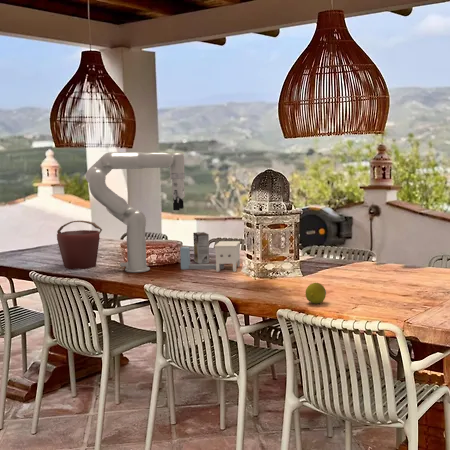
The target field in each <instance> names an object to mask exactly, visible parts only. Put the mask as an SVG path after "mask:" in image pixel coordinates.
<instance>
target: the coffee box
mask: <svg viewBox="0 0 450 450" xmlns="http://www.w3.org/2000/svg"><path fill="white" fill-rule="evenodd" d="M192 236H193V257H194V260H193V261H194V262H195V264H210V245H209V244H210V241H209V240H210V238H209V234H208V233H206V232H205V231H203V232H199V231H198V232H193V235H192Z"/></svg>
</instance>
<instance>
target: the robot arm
mask: <svg viewBox="0 0 450 450" xmlns="http://www.w3.org/2000/svg"><path fill="white" fill-rule="evenodd" d="M152 168H153V169H155V168H157V169H158V168H159V169H162V168H163V169H164V168H165V169H167V168H169V177H170V181H171V195H172V196H171V197H172V210H173V211H180V210H181V209H183V210H184V207H185V206H184V198H185V196H186V190H185V182H184V180H185V155H184V153H182V152H172V153H169V152H141V151H128V152H127V151H118V152H117V151H114V152H113V151H111V152H106V153H104V154H103V155H102V156H101V157H100V158H99V159H98V160H97V161H95V163H94V164H92V165H91V167H89V168H88V170H86V172H85V180H86V182H87V183H88V188H89V191H90V193H91V195H92V198H94V199H95V200H96V201H97V202H98V203H100V204H101V205H102V206H103V207H105V208H106V211H107V212H108V213H109V214H111V216H113V217H114V218H116V220H117V219H118V220H119V221H120V222H122V224H124V225H126V251H127V261H126V262H120V263H119V266H120V267H121V268H122V267H123V268H124V267H125V269H124V271H125V272H127V273H145V272H148V271H150V269H151V268H150V267H149V266H148V265H147V244H146V243H147V241H146V240H147V239H146V227H147V223H146V222H147V218H146V215H145V213H144V212H143V211H142V210H140V209H137V208H134V207H133V206H132V205H130V204H129V203H128V202H127V201H126V199H124V197H121V196H120V195H118V194H117V193H115V192H114V191H113V190H112V189H111V188H109V186H108V185H107V183H106V178H107V177H106V176H107V175H109V173H110V172H111V171H112V170H139V169H140V170H141V169H152Z"/></svg>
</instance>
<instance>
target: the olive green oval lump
mask: <svg viewBox="0 0 450 450" xmlns="http://www.w3.org/2000/svg"><path fill="white" fill-rule="evenodd" d="M326 295H327V290H326V288H325V287H324V285H323V284H321V283H319V282H313V283H310V284H309V285H307V287H306V289H305V298H306V299H307V301H308V302H309V303H311V304H314V305H315V304H316V305H318V304H321V303H322V302H324V301H325V299H326V297H327V296H326Z"/></svg>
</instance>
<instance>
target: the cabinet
mask: <svg viewBox="0 0 450 450" xmlns="http://www.w3.org/2000/svg"><path fill="white" fill-rule="evenodd" d="M240 244H241V240H240V241H238V240H235V241H234V240H232V241H231V240H229V241H228V240H226V241H225V240H219V241H218V242H217V243H216V244H215V245H214V249H215V264H216V269H215V272H220V271H221V269H220V266H219V264H224V265H225V264H232V272H237V267H241V253H240V252H241V251H240Z"/></svg>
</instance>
